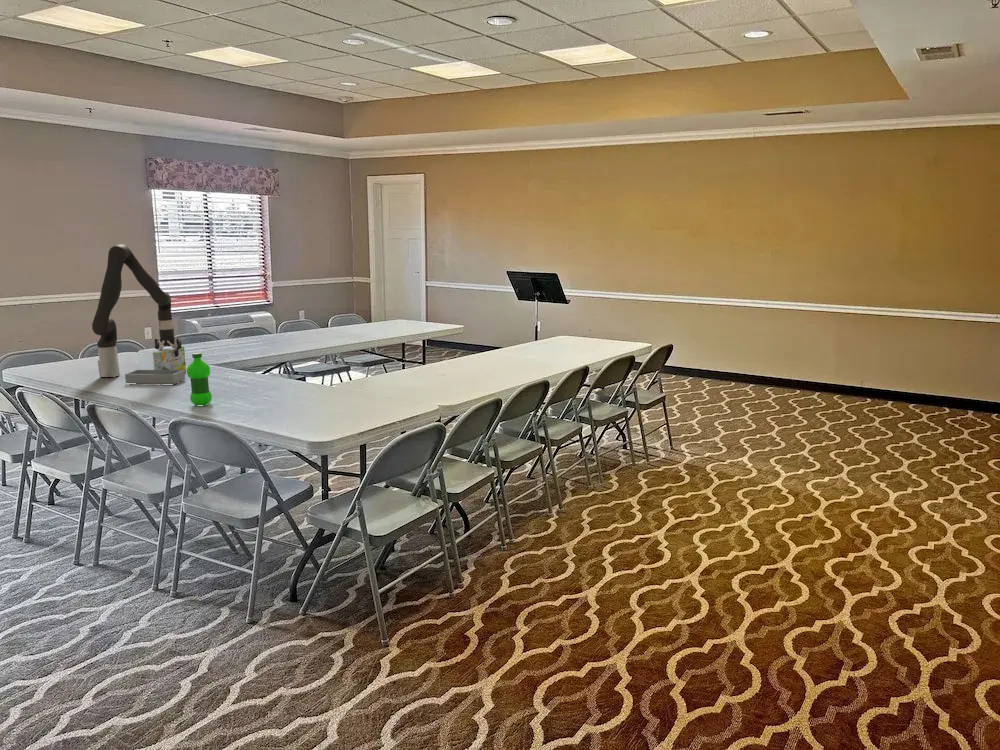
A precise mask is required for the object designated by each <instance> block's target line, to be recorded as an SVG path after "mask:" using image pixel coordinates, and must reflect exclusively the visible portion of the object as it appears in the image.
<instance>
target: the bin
mask: <svg viewBox="0 0 1000 750" xmlns="http://www.w3.org/2000/svg"><path fill="white" fill-rule="evenodd" d="M185 377H186V376H185V372H184V370H154V369H136V370H135V369H134V370H132V371H129V372H127V373H125V374H124V378H125V384H126V383H136V384H176V383H178V382H180V381H182V380H185V379H186V378H185ZM185 381H186V380H185ZM180 383H181V382H180ZM178 384H179V383H178ZM176 385H177V384H176Z"/></svg>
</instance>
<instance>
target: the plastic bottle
mask: <svg viewBox="0 0 1000 750" xmlns="http://www.w3.org/2000/svg"><path fill="white" fill-rule="evenodd" d="M191 354H192V356H191V357H192V358H193V361H192V362H191V363H190V364H188V366H186V375H187V377H188V378H190V385H191V386H190V387H191V393H190V397H189V399H190V402H191V403H192V404H193V405H194V406H196V405H206V404H208V405H209V404H210V403H211V401H212V399H213V396H212V393H211V390H210V386H209V385H210V384H209V376H210V374H211V370H210V369H211V367H210V365H209V364H207V363H206V362H205V361H203V360H202V358H203V354H202V352H194V353H193V352H192V353H191ZM206 406H207V405H206Z"/></svg>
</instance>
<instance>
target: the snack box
mask: <svg viewBox="0 0 1000 750" xmlns="http://www.w3.org/2000/svg"><path fill="white" fill-rule="evenodd" d="M181 346H182V348H181V349H179V350H178V351H179V355H178V357H175V350H174V348H173V347H171V346H170V347H167V348H163V349H162V350H160V351H159V350H156V351H153V352H152V357H153V359H152V360H153V368H154V369H153V370H184V371H186V372H187V365H186V354H185V352H186V351H185V346H183V345H181Z"/></svg>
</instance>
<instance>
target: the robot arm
mask: <svg viewBox="0 0 1000 750" xmlns="http://www.w3.org/2000/svg"><path fill="white" fill-rule="evenodd" d="M107 255H108V256H107V264H106V265H107V266H106V271H105V274H104V278H103V282H102V285H101V290H100V296H99V300H98V303H97V304H98V305H97V309H96V312H95V315H94V317H93V321H92V324H91V329H92V331H93V333H94V334H95V335H97V336H100V338H99V340H98V341H97V343H96V344H97V355H98V360H97V366H98V373H99V378H101V377H114V378H117V377H116V376H118V377H120V376H119V375H121V374H120V365H119V359H118V358H119V357H118V356H119V355H118V350H117V349H118V348H117V341H118V333H117V323H116V322H115V320H114V319H113V318H112V317H110V316H111V312H113V311H112V310H113V309H114V307H115V306H116V305H117V303H118V301H119V300H120V296H121V292H122V288H123V285H122V284H123V281H122V270H123V267H124V265H125V266H126V267H127V268H128V269H129V270H130V271H131V273H132V274H133V276H134V277H135V279H136V281H137V282H138V283H139V284H140V286H142V288H143V289H144V290H145V291H146V292H147V293H148V294H149V296H150V297H151V298H152V300H153V301H154V302H155V303H156V304H157V309H158V310H157V319H158V333H159V337H157V338H154V349H155V350H157V351H160V350H163V349H165V348H164V347H170V348H171V347H173V348H174V350H175V357H178V355H179V351H178V350H179V349H181V348H182V346H183V345H182V341H181V338H180V337H178V338H175V328H174V322H173V314H172V299H171V295H170V293H169V292H167V291H163V289H161V287H160V285H159V283H158V282H157V281H156V280H155V279H154V278H153V276H152V275H150V274H149V273H148V272H147V270H146V269H145V268H144V267H143V266H142V264H141V262H139V260H138V259H137V257H136V256H135V255H134V253H133V252H132V250H131V249H130V248H129V246H127V245H126V244H123V243H118V244H115V245H113V246H111V247H110V248H109V250H108V253H107Z"/></svg>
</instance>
